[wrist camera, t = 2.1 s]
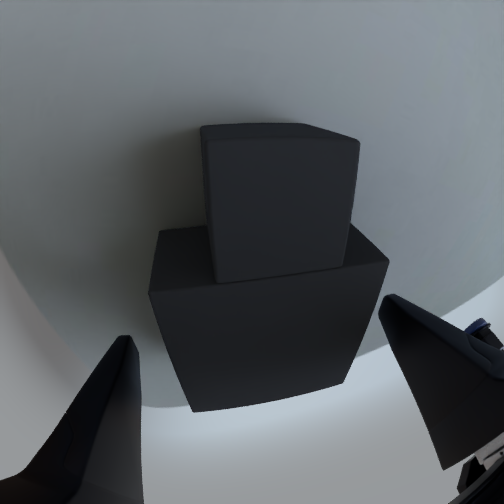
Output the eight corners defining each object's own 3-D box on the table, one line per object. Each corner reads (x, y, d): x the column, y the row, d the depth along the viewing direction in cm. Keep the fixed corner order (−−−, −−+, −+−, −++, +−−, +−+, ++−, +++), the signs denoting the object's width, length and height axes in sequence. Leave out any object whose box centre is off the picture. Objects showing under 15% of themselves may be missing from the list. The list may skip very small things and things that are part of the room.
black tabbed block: (349, 126, 7) (414, 146, 5) (318, 332, 12) (343, 383, 10) (145, 132, 6) (116, 152, 4) (187, 353, 11) (192, 413, 9)
